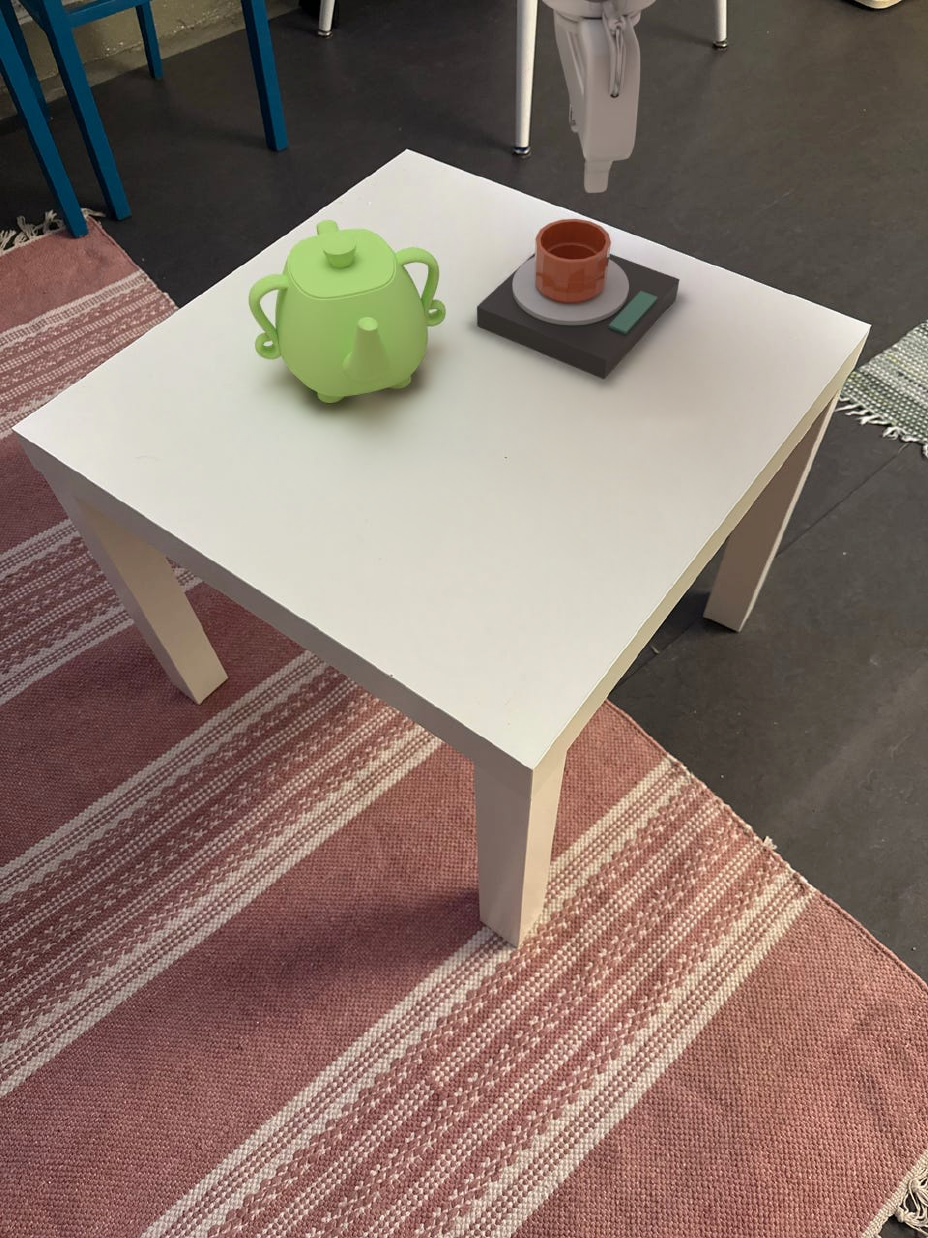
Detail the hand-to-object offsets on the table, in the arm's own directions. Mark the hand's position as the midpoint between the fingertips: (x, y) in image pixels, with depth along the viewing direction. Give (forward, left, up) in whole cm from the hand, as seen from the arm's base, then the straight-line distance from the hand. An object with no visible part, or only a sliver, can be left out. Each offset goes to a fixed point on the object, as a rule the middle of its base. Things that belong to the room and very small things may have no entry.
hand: (587, 157), depth 76 cm
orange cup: (+1, 0, -12) cm, 12 cm away
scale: (0, 0, -15) cm, 15 cm away
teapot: (+21, +7, -15) cm, 27 cm away
